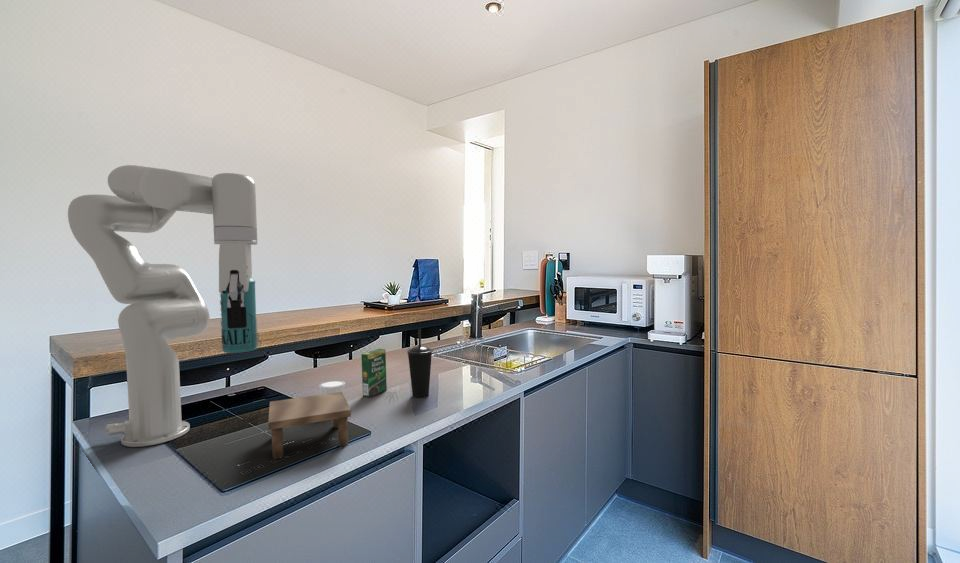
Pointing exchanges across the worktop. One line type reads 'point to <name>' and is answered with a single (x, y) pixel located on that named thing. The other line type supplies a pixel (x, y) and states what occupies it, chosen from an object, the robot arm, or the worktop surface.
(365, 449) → the worktop surface
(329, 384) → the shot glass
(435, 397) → the worktop surface
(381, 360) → the coffee box
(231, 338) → the beverage bottle
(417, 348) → the drinking cup
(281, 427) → the walnut stool
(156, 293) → the robot arm
